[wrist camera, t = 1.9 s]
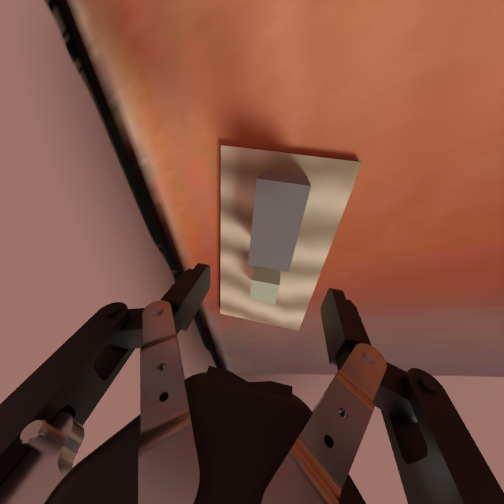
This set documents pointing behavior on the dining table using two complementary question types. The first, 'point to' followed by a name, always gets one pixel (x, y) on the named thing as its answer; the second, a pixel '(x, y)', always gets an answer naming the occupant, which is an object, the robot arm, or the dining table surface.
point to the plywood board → (309, 239)
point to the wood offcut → (265, 285)
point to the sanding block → (277, 218)
